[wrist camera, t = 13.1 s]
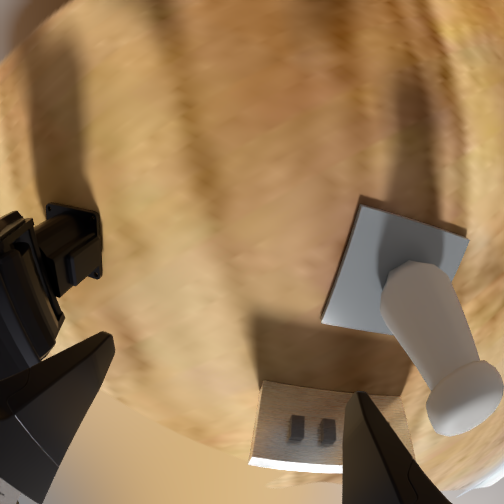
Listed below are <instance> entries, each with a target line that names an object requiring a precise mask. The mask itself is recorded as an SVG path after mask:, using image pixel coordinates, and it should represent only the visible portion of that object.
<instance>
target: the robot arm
mask: <svg viewBox="0 0 504 504" xmlns="http://www.w3.org/2000/svg"><path fill="white" fill-rule="evenodd" d="M46 216H47V220H46V221H44V222H42V223H41V224H39V225H37V226H35V227H33V226H34V222H33V218H27V219H23V216H21V215H20V214H19V212H18V211H12V212H10V213H8V214H6V215H4V216H2V217H1V218H0V504H19V502H18V499H19V497H20V495H21V493H22V494H24V495H25V496H27V497H29V498H30V499H32V500H33V501H35V502H37V503H39V504H42V503H43V501H44V499H45V496H46V494H47V492H48V490H49V488H50V485H51V483H52V481H53V479H54V476H55V474H56V472H57V470H58V468H59V465H60V464H61V462H62V460H63V457H64V455H65V453H66V451H67V449H68V447H69V445H70V443H71V442H72V440H73V437H74V435H75V433H76V432H77V430H78V428H79V426H80V424H81V422H82V420H83V418H84V416H85V414H86V413H87V411H88V409H89V407H90V405H91V404H92V402H93V400H94V398H95V396H96V394H97V393H98V391H99V389H100V387H101V385H102V383H103V380H104V378H105V376H106V373H107V371H108V368H109V366H110V364H111V361H112V359H113V357H114V354H115V346H114V340H113V336H112V334H109V333H107V332H104V331H102V332H99V333H97V334H95V335H93V336H91V337H89V338H87V339H85V340H83V341H81V342H79V343H77V344H75V345H73V346H71V347H70V348H68V349H66V350H64V351H62V352H60V353H58V354H56V355H54V356H52V357H50V358H48V359H46V360H44V361H41V360H42V359H43V358H45V357H46V356H47V355H48V353H49V352H50V351H51V349H52V348H53V347H54V345H55V343H56V341H55V339H56V337H57V335H58V332H59V330H60V328H61V326H62V324H63V322H64V320H65V316H64V314H63V312H62V311H61V309H60V306H59V304H58V301H57V299H56V297H58V298H60V297H61V296H62V295H63V294H64V293H66V292H67V291H68V290H69V289H70V288H71V287H72V286H77V285H78V284H79V283H80V282H81V281H82V280H83V279H85V278H86V277H87V276H88V277H91V278H94V279H100V278H101V277H102V264H101V263H102V260H101V243H100V228H99V215H98V213H97V212H95V211H91V210H86V209H81V208H76V207H71V206H67V205H62V204H57V203H52V202H51V203H48V204H47V205H46ZM92 216H93V217H94V219H93V217H92ZM342 461H343V493H342V495H343V496H342V504H452V503H451V502H450V501H449V500H448V499H447V498H446V497H445V496H444V495H443V494H442V493H441V492H440V491H439V489H438V488H437V487H436V486H435V485H434V484H433V483H432V482H431V480H430V479H429V478H428V477H427V476H426V474H425V473H424V472H423V471H422V469H421V468H420V467H419V465H418V464H417V462H416V461H415V460H414V459H413V457H412V455H411V454H410V453H409V451H408V450H407V448H406V447H405V445H404V444H403V443H402V441H401V440H400V438H399V437H398V436H397V434H396V433H395V431H394V430H393V429H392V427H391V426H390V424H389V423H388V422H387V420H386V419H385V417H384V416H383V415H382V413H381V412H380V410H379V409H378V408H377V406H376V405H375V403H374V402H373V401H372V399H371V398H370V396H369V395H368V394H367V393H366V392H363V391H356V392H354V394H353V395H352V397H351V398H350V399H349V401H348V402H347V404H346V407H345V417H344V429H343V441H342Z"/></svg>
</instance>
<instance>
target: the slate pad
mask: <svg viewBox="0 0 504 504" xmlns="http://www.w3.org/2000/svg"><path fill="white" fill-rule="evenodd" d="M469 241H470V240H469V239H468V238H466V237H464V236H461V235H458V234H455V233H453V232H450V231H447V230H444V229H441V228H438V227H435V226H432V225H429V224H426V223H423V222H420V221H417V220H414V219H410V218H407V217H404V216H401V215H397V214H394V213H391V212H387V211H384V210H381V209H377V208H374V207H370V206H366V205H363V204H360V206H359V209H358V212H357V216H356V219H355V222H354V226H353V229H352V232H351V235H350V238H349V241H348V244H347V247H346V250H345V253H344V256H343V259H342V262H341V265H340V268H339V271H338V274H337V277H336V279H335V282H334V285H333V288H332V290H331V293H330V296H329V298H328V301H327V304H326V306H325V309H324V312H323V314H322V317H321V323H323V324H328V325H334V326H340V327H345V328H351V329H357V330H363V331H369V332H376V333H382V334H389V335H393V334H392V332H391V331H390V329H389V328H388V327H387V325H386V323H385V321H384V319H383V317H382V315H381V313H380V302H381V293H382V291H383V288H384V286H385V283H386V280H387V277H388V273H389V271H391V270H393V269H395V268H396V267H398V266H400V265H402V264H403V263H405V262H407V261H408V260H411V261H416V262H421V263H429V264H434V265H435V266H437V267H438V268H439V269H441V270H442V271H443V272H445V273H446V274H447V275H448V277H449V279H450V281H451V282H452V280H453V278H454V276H455V274H456V271H457V269H458V267H459V265H460V262H461V260H462V258H463V255H464V253H465V251H466V248H467V246H468V243H469Z"/></svg>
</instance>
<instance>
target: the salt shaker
mask: <svg viewBox="0 0 504 504" xmlns="http://www.w3.org/2000/svg"><path fill="white" fill-rule="evenodd" d="M380 313H381V315H382V317H383V319H384V321H385V323H386V325H387V327H388V328H389V329H390V331H391V332H392V334H393V335H394V336H395V338H396V339H397V340H398V342H399V343H400V345H401V346H402V347H403V349H404V350H405V352H406V353H407V354H408V356H409V357H410V359H411V360H412V362H413V363H414V365H415V366H416V367H417V369H418V371H419V372H420V374H421V375H422V377H423V379H424V380H425V382H426V383H427V385H428V387H429V388H430V390H431V393H430V395H429V397H428V400H427V402H426V409H427V413H428V417H429V420H430V422H431V424H432V426H433V428H434V430H435V432H436V433H438V434H441V435H445V436H454V435H459V434H462V433H464V432H466V431H469V430H471V429H473V428H474V427H476V426H477V425H479V424H480V423H482V422H483V421H485V420H486V419H487V418H488V417H489V416H490V415H491V414H492V413H493V412H494V411H495V409H496V408H497V406H498V405H499V403H500V401H501V398H502V396H503V389H504V385H503V382H502V378H501V375H500V374H499V372H498V371H497V369H496V368H495V367H494V366H492V365H491V364H489V363H488V362H486V361H485V360H483V361H480V359H479V355H478V352H477V349H476V346H475V343H474V340H473V337H472V334H471V331H470V328H469V326H468V323H467V320H466V318H465V315H464V312H463V310H462V307H461V305H460V302H459V300H458V297H457V295H456V293H455V290H454V288H453V286H452V283H451V281H450V279H449V277H448V275H447V274H446V273H445V272H443V271H442V270H441V269H439V268H438V267H437V266H435V265H434V264H429V263H421V262H416V261H411V260H408V261H407V262H405V263H403V264H402V265H400V266H398V267H396V268H395V269H393V270H391V271H389V273H388V277H387V280H386V283H385V286H384V288H383V291H382V293H381V302H380Z"/></svg>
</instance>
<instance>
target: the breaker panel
mask: <svg viewBox="0 0 504 504" xmlns="http://www.w3.org/2000/svg"><path fill="white" fill-rule="evenodd" d="M353 394H354V393H347V392H338V391H329V390H321V389H314V388H307V387H300V386H294V385H288V384H282V383H276V382H271V381H266V380H263V383H262V386H261V389H260V392H259V399H258V405H257V412H256V418H255V425H254V431H253V437H252V443H251V449H250V455H249V461H248V465H253V466H259V467H266V468H273V469H281V470H291V471H302V472H317V473H343V461H342V441H343V429H344V417H345V407H346V404H347V402H348V401H349V399H350V398H351V397H352V395H353ZM368 395H369V394H368ZM369 396H370V398H371V399H372V401H373V402H374V403H375V405H376V406H377V408H378V409H379V410H380V412H381V413H382V415H383V416H384V417H385V419H386V420H387V422H388V423H389V424H390V426H391V427H392V429H393V430H394V431H395V433H396V434H397V436H398V437H399V438H400V440H401V441H402V443H403V444H404V445H405V447H406V448H407V450H408V451H409V453H410V454H411V455H412V457H413V459H414V460H415V455H414V450H413V445H412V441H411V436H410V432H409V427H408V423H407V419H406V415H405V411H404V407H403V403H402V400H401V396H384V395H369ZM415 461H416V460H415Z"/></svg>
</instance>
